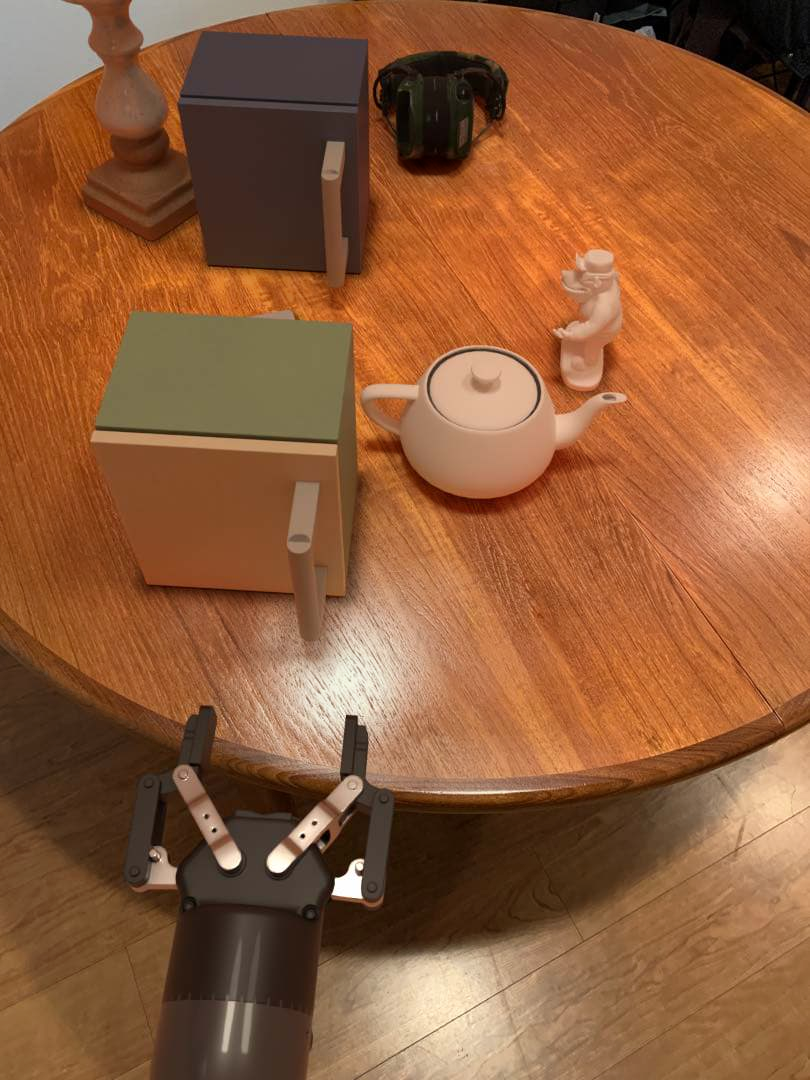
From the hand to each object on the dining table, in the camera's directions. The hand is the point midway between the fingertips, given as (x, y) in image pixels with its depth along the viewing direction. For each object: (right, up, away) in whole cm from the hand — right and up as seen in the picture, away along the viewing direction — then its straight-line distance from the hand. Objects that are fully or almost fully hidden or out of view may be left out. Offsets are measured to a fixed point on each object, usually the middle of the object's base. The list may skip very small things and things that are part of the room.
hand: (280, 715), depth 55 cm
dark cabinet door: (-5, +37, +40) cm, 55 cm away
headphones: (+11, +60, +57) cm, 83 cm away
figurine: (+24, +28, +35) cm, 51 cm away
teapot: (+14, +18, +28) cm, 36 cm away
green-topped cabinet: (-5, +12, +23) cm, 27 cm away
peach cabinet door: (-6, +4, +18) cm, 19 cm away
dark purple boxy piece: (-5, +44, +45) cm, 63 cm away
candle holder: (-21, +48, +48) cm, 71 cm away
